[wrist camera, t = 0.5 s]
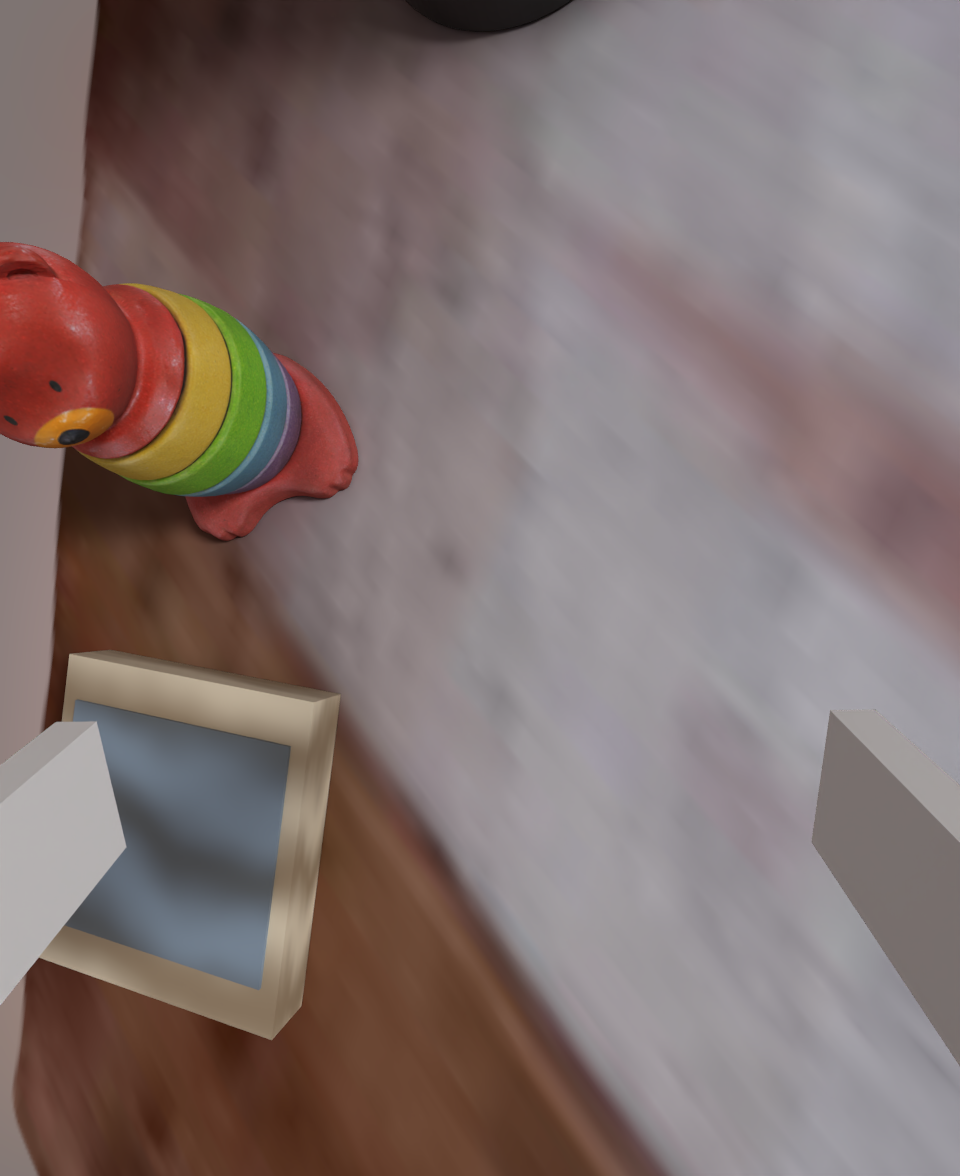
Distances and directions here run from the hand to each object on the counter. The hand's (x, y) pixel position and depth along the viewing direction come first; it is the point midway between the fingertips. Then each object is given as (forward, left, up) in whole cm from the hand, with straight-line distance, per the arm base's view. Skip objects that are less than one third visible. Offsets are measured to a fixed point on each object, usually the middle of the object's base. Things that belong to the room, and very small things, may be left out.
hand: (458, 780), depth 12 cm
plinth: (+13, -21, -22) cm, 34 cm away
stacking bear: (-10, -20, -23) cm, 32 cm away
